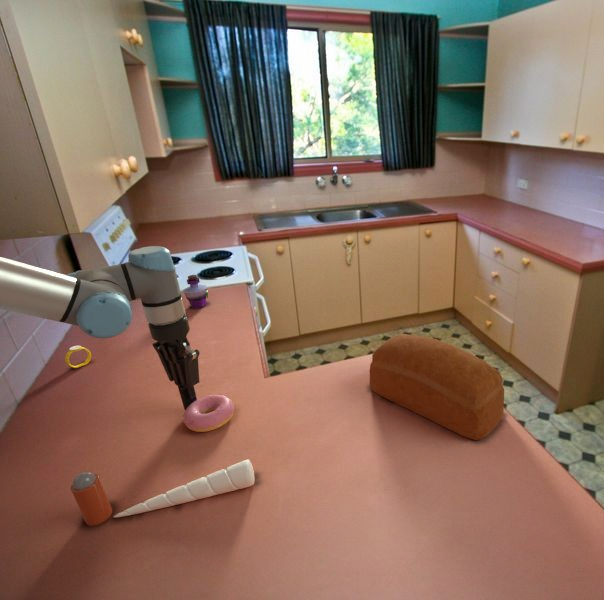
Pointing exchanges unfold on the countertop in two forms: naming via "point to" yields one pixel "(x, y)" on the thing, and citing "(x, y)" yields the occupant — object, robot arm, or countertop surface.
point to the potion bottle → (195, 292)
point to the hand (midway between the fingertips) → (191, 407)
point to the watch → (74, 349)
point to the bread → (439, 383)
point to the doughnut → (202, 419)
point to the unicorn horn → (200, 488)
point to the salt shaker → (91, 498)
